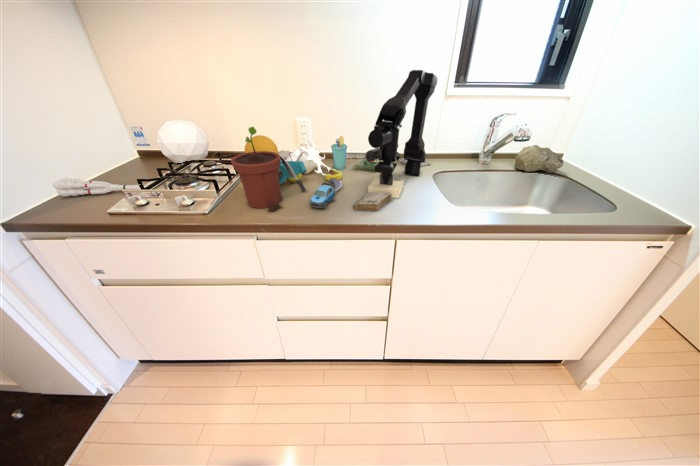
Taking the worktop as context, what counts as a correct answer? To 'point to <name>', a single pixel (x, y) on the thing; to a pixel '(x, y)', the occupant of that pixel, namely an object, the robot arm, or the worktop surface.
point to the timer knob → (388, 181)
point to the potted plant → (261, 176)
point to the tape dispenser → (296, 167)
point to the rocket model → (87, 187)
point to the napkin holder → (406, 161)
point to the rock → (538, 159)
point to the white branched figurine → (312, 158)
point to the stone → (372, 201)
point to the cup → (339, 153)
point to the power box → (367, 165)
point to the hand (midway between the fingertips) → (386, 183)
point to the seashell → (284, 155)
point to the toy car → (323, 196)
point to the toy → (261, 144)
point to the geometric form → (182, 141)
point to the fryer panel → (386, 187)
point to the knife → (334, 178)
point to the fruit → (296, 177)
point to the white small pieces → (295, 154)
